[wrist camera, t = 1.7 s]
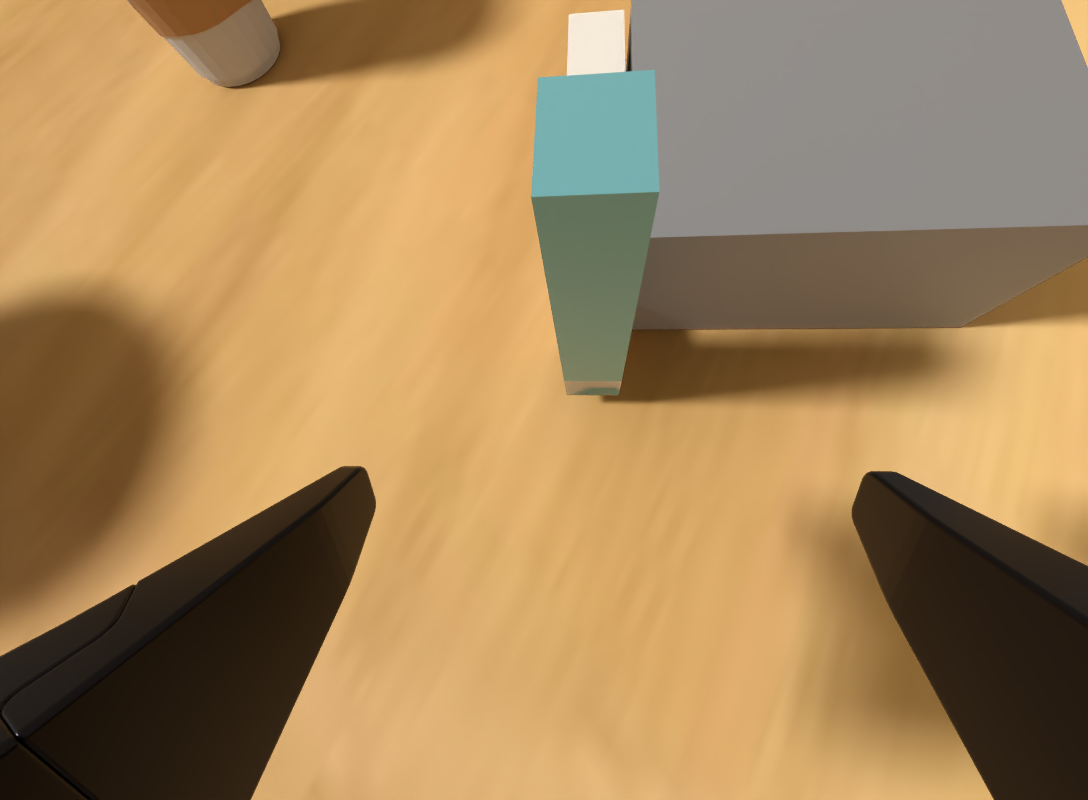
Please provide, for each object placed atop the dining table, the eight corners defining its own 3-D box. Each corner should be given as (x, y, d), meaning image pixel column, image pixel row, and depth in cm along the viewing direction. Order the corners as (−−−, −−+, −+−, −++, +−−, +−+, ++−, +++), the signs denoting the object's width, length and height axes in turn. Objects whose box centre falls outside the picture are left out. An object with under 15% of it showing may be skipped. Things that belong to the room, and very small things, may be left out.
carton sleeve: (913, 128, 25) (1046, -38, 18) (960, 327, 22) (1148, 223, 14) (620, 143, 27) (631, -2, 19) (622, 329, 23) (636, 238, 16)
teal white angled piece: (901, 108, 24) (1244, -363, 11) (967, 398, 19) (1657, 152, 7) (573, 127, 25) (557, -260, 13) (566, 394, 21) (531, 196, 9)
